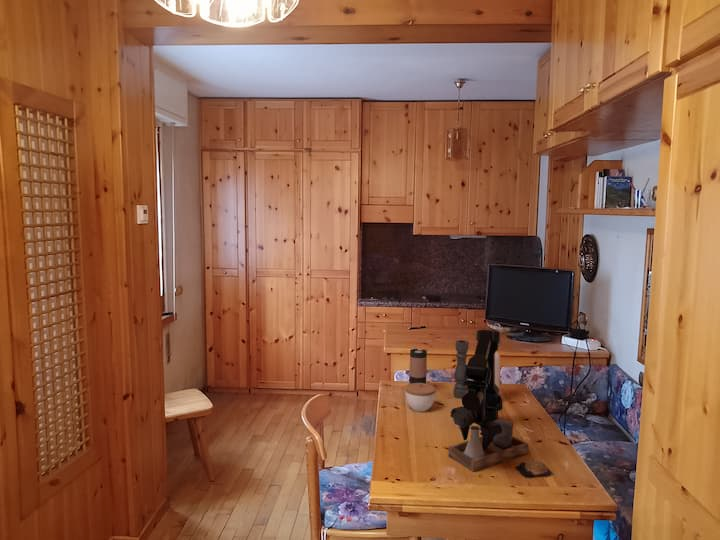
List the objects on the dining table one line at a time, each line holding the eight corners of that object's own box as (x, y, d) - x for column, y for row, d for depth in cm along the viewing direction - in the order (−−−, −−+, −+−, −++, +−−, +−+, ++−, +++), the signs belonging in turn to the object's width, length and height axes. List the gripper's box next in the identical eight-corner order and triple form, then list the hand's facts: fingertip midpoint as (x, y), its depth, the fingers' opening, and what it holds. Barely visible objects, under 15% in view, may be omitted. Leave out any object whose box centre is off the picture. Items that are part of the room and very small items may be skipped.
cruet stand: (501, 440, 186) (502, 413, 185) (527, 453, 176) (529, 425, 175) (448, 456, 173) (449, 427, 172) (473, 471, 163) (474, 441, 162)
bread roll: (541, 464, 169) (541, 454, 169) (556, 477, 161) (557, 466, 161) (512, 468, 167) (512, 457, 166) (526, 481, 159) (526, 469, 158)
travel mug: (415, 397, 228) (416, 353, 226) (405, 392, 235) (406, 349, 233) (429, 395, 232) (430, 351, 230) (419, 389, 239) (420, 347, 236)
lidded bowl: (439, 407, 217) (440, 381, 216) (427, 416, 207) (427, 390, 206) (413, 401, 224) (413, 376, 223) (399, 410, 214) (400, 384, 212)
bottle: (477, 401, 224) (479, 334, 221) (484, 396, 230) (486, 331, 227) (495, 405, 219) (497, 337, 216) (501, 400, 226) (504, 333, 222)
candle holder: (451, 393, 234) (453, 340, 231) (465, 393, 234) (467, 339, 231) (455, 398, 227) (457, 343, 225) (469, 398, 228) (471, 343, 225)
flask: (485, 462, 167) (486, 433, 166) (463, 460, 168) (464, 431, 167) (484, 452, 174) (485, 424, 173) (462, 450, 175) (463, 422, 174)
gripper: (438, 395, 173) (437, 439, 175) (477, 414, 157) (476, 462, 159) (464, 389, 178) (462, 432, 180) (504, 407, 162) (502, 454, 164)
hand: (474, 445), depth 171 cm, fingers open, 9 cm apart
